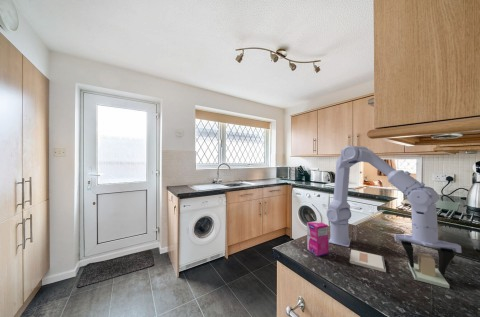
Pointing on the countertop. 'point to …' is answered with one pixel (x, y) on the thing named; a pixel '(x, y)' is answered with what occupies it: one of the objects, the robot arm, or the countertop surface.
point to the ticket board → (367, 260)
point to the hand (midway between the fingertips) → (426, 269)
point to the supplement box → (317, 238)
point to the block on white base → (427, 271)
